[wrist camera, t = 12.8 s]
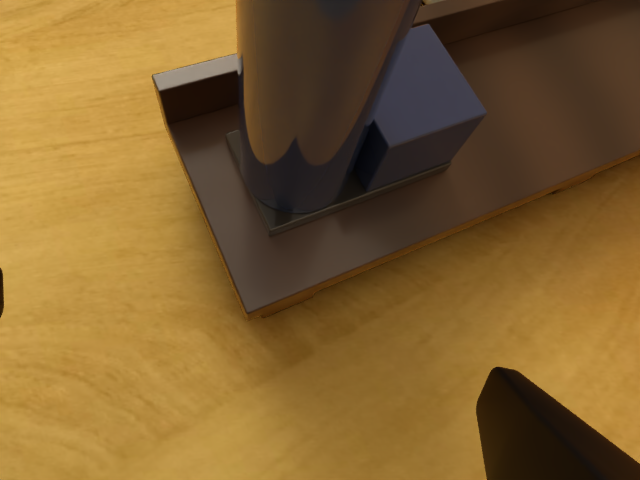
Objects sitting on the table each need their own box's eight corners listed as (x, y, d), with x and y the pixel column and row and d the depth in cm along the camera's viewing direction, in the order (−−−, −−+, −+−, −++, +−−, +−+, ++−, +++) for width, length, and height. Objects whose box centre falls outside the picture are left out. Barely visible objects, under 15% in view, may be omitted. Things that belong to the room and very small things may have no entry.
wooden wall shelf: (246, 333, 20) (246, 300, 15) (172, 155, 22) (150, 74, 17) (789, 99, 30) (902, 31, 25) (696, -6, 32) (781, -87, 27)
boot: (266, 238, 18) (300, -86, 6) (222, 142, 19) (188, -270, 8) (447, 170, 20) (702, -157, 9) (397, 88, 21) (566, -291, 10)
